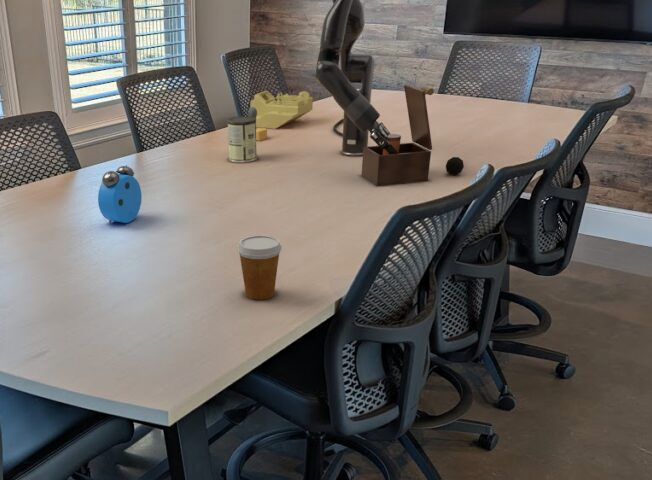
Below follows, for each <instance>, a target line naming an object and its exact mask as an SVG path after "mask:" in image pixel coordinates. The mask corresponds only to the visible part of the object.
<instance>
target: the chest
mask: <svg viewBox="0 0 652 480" xmlns="http://www.w3.org/2000/svg"><path fill="white" fill-rule="evenodd" d="M431 156H432V150H429V149H427V148H425V147H423V146H421V145H419V144H417V143H415V142H403V143H401V142H400V151H399V154H390V155H383V149H381V148H380V147H379V146H378V145H371V146H369V145H368V147H363V155H362V161H361V162H362V163H361V177H363V178H365V180H367V181H369V182H370V183H371V184H373V185H375V186H376V187H380V186H390V185H402V184H411V183H422V182H423V183H424V182H429V175H430V165H431Z"/></svg>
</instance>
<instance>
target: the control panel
mask: <svg viewBox="0 0 652 480" xmlns="http://www.w3.org/2000/svg"><path fill="white" fill-rule="evenodd" d="M313 99H314V98H313V96H312V95H311V94H310V93H309V92H308V91H304V90H303V91H300V92H299V93H298V95H292V94H289V93H285V94H283V92H282V91H281V92H280V93H279V92H278V93H277V96H274V95H273V94H272V93H270V92H269V91H268V90H264V91H261V92H259V93H257V94H254V95H253V99H251V100H250V108H251V107H254V108H256V110H257V116H256V127H257V128H265V129H272V130H273V129H274V130H276V129H278V128H280V127H283V126H284V125H288V124H289V123H293V122H294V121H297V120H298V119H300V118H301V117H303V116H304V115H306V114H308V113H309V112H311V111H313V104H314V100H313Z"/></svg>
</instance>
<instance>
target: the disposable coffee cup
mask: <svg viewBox="0 0 652 480" xmlns="http://www.w3.org/2000/svg"><path fill="white" fill-rule="evenodd" d="M282 247H283V246H282V245H281V242H280V240H279V239H278V238H276V237H273V236H270V235H251V236H245V237H244V238H242V239H241V240H239V242H238V246H237V248H236V250H237V252H238V255H239V258H240V259H239V260H240V267H241V272H242V278H243V283H244V284H243V285H244V291H245V296H246V297H247V298H249V299H252V300H256V301H257V300H267V299H271V298H272V297H274V295H275V288H276V281H277V273H278V267H279V259H280V253H281V251H282Z"/></svg>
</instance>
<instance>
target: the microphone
mask: <svg viewBox="0 0 652 480" xmlns="http://www.w3.org/2000/svg"><path fill="white" fill-rule="evenodd" d="M464 167H465V166H464V161H463V160H462V158H460V157H458V156H453V157H450V159H448V160H447V161H446V163H445V169H446V173H448V174H449V175H452V176H457V175H459V174H460V173H462V171H463V169H464Z"/></svg>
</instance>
